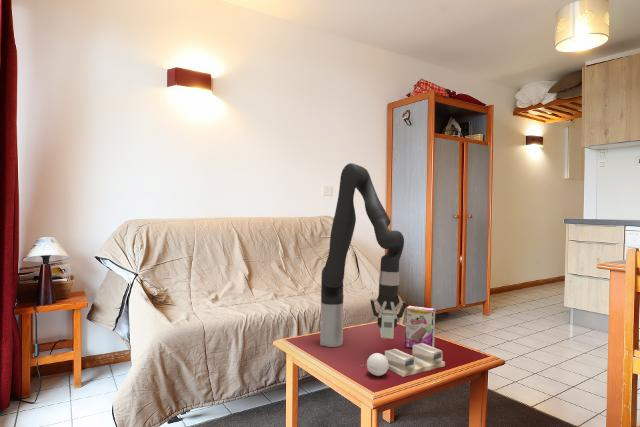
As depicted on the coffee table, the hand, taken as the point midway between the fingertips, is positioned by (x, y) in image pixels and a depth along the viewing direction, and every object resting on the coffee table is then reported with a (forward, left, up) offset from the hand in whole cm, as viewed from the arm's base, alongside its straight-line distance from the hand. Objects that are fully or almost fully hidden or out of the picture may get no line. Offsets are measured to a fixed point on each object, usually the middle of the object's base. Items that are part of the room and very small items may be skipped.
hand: (386, 327), depth 158 cm
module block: (0, 0, -3) cm, 3 cm away
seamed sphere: (-6, -18, -12) cm, 22 cm away
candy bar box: (+15, +12, -12) cm, 22 cm away
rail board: (+9, -8, -11) cm, 17 cm away
